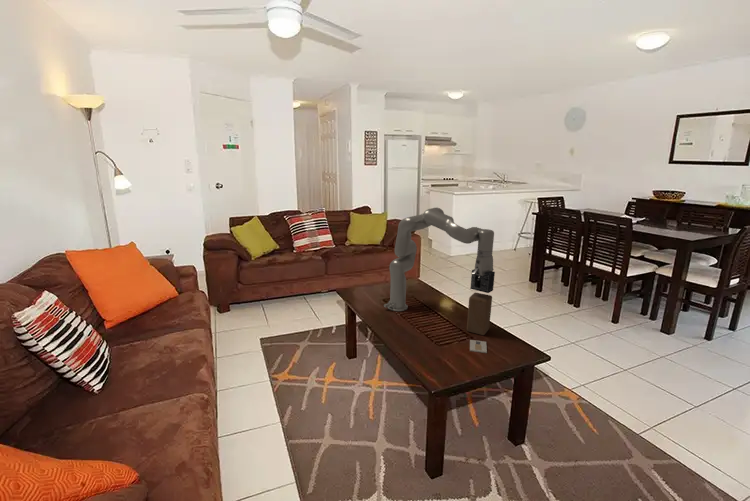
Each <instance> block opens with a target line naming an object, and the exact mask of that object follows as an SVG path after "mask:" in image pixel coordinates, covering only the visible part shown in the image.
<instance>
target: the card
mask: <svg viewBox="0 0 750 501" xmlns="http://www.w3.org/2000/svg"><path fill="white" fill-rule="evenodd" d="M469 352H475V353H481V354H482V353H483V354H487V353H488V350H487V341H484V340H483V341H482V340H477V339H476V340H474V339H470V340H469Z"/></svg>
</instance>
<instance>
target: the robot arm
mask: <svg viewBox="0 0 750 501" xmlns="http://www.w3.org/2000/svg"><path fill="white" fill-rule="evenodd" d="M431 226H432V227H435V228H437V229H439V230H441V231H444V232H445V233H446V234H447V235H448V236H449V237H451V238H452V239H454V240H456V241H458V242H461V243H463V244H473V243H474V242H477V254H476V259H475V265H474V269H475V271H474V272H473V273H472V272H471V276H472V275H473V277H474V279H475V284H474V286H475V287H478V288H480V278H481V276H484V275H485V273H486V272H491V271H493V272H494V258H493V257H494V256H493V249H494V241H495V232H494V230H493V229H489V228H487V229H485V228H481V227H478V226H472V227H467V228H466V227H463V226H460V225H459V224H457V223H455V220H454V217H453V216H450V215H448V214H445V212H444V210H443V209H442V208H439V207H433V208H427V209H426V210H425V211H424V212H423V213H421V214H417V215H413V216H409V217H405V218H403V219H401V220H400V221H399V222H398V227H397V235H396V237H395V238H396V239H395V244H394V254H395V256H396V257H397V258H395V259H393V260H392V261H390V263H389V268H388V270H389V274H390V286H389V287H390V290H389V297H390V299H389V300H388V303H385V304H383V307H384V308H387V309H388V310H390V311H393V312H394V311H395V312H403V311H404V312H405V311H406V310H408V304H406V294H407V293H406V292H407V279H406V278H407V277H406V274H405V273H407V272H408V271H410V270H412V268H414V266H415V260H416V256H417V251H418V250H417V248H418V246H417V244H416V242H415V241H414V240H413V239H412V232H417V231H420V230H423V229H426V228H428V227H431ZM477 273H479V274H477ZM477 276H479V277H477Z"/></svg>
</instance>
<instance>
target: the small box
mask: <svg viewBox="0 0 750 501" xmlns="http://www.w3.org/2000/svg"><path fill="white" fill-rule="evenodd" d="M474 271H475V268H474V269H472V270H471V277H470V278H471V279H470V287H469V288H470V290H474V291H478V292H483V293H486V294H489V293H491V292H493V291H494V284H495V273H496V272H495V271H494V270H493V271H491V272H486V273H485V275H484V276H481V278H480V288H478V287H475V286H474V284H475V279H474V277H473V275H472V273H473V272H474ZM477 274H479V273H477ZM477 277H479V276H477Z"/></svg>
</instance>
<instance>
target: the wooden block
mask: <svg viewBox="0 0 750 501" xmlns="http://www.w3.org/2000/svg"><path fill="white" fill-rule="evenodd" d="M492 303H493V296H492V295H490V294H487V293H486V294H485V293H480V292H473V293H472V294H471V295H470V296H469V298H468V307H467V308H468V310H467V320H466V322H467V323H466V331H467V332H469V333H472V334H477V335H481V336H484V335H486V334H487V333H488V332H489V330H490V326H491V325H490V324H491V313H492Z"/></svg>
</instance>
